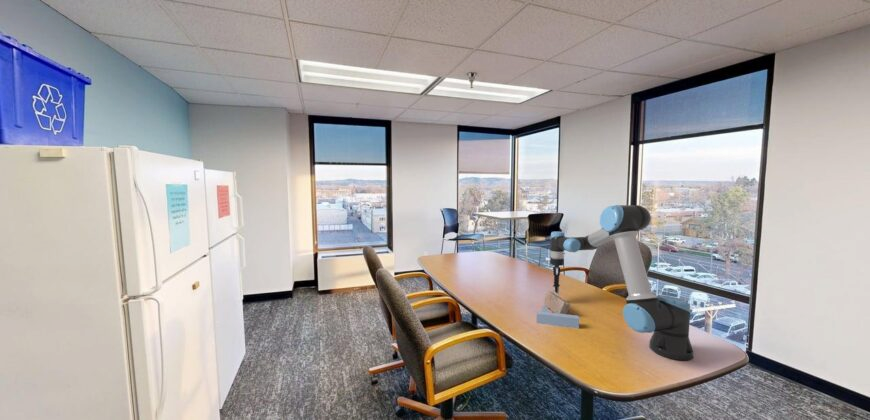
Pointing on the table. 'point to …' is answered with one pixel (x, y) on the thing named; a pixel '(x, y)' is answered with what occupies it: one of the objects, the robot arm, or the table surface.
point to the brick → (556, 303)
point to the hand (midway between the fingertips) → (556, 296)
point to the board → (557, 319)
